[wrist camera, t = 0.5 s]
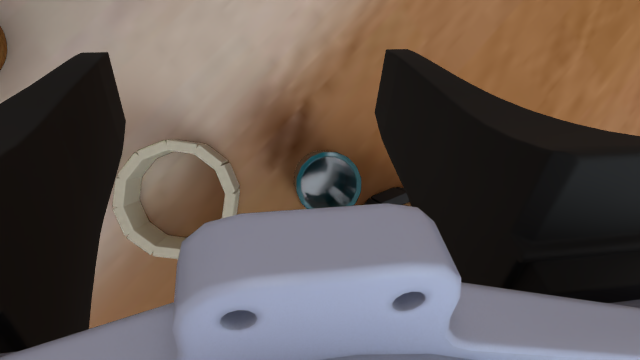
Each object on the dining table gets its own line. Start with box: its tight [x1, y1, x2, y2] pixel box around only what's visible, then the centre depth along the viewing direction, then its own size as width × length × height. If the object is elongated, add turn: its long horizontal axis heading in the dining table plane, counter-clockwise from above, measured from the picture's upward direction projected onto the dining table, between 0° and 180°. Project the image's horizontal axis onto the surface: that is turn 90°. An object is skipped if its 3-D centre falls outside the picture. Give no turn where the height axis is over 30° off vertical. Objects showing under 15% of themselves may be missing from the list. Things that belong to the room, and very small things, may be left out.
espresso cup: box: [294, 151, 361, 209], centre depth 36 cm, size 5×5×6 cm
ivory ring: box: [112, 140, 240, 259], centre depth 36 cm, size 9×9×4 cm
